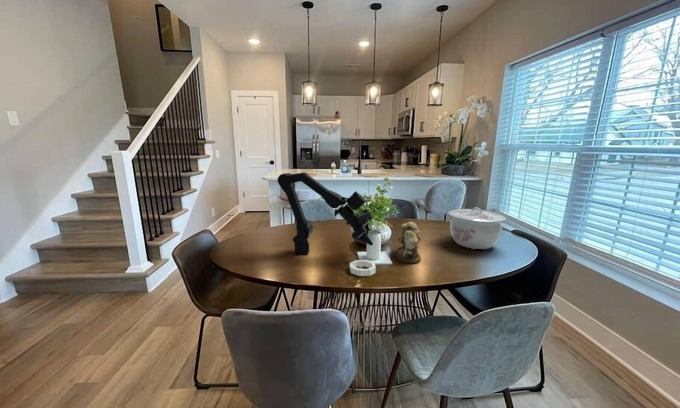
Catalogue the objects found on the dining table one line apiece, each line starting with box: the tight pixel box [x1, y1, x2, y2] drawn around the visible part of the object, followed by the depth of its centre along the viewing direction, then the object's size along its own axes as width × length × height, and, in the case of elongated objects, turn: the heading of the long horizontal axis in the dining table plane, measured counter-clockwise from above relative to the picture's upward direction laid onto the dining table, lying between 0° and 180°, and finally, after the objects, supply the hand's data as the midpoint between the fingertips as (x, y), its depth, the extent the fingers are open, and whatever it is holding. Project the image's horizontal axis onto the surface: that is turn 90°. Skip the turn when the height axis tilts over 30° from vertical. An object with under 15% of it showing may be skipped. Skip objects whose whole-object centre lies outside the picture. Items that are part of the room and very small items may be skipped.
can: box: [366, 230, 382, 260], centre depth 132 cm, size 6×6×12 cm
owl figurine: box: [393, 221, 422, 265], centre depth 134 cm, size 18×12×17 cm, turn 6°
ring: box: [349, 259, 377, 277], centre depth 120 cm, size 10×10×2 cm
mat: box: [356, 251, 393, 266], centre depth 133 cm, size 14×14×1 cm
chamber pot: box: [447, 206, 507, 250], centre depth 151 cm, size 28×28×21 cm
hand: (373, 241), depth 132 cm, fingers open, 9 cm apart
